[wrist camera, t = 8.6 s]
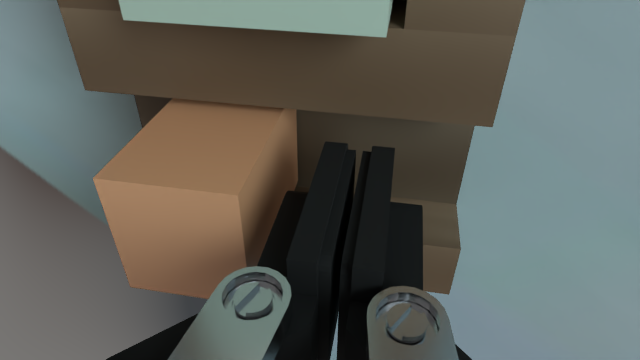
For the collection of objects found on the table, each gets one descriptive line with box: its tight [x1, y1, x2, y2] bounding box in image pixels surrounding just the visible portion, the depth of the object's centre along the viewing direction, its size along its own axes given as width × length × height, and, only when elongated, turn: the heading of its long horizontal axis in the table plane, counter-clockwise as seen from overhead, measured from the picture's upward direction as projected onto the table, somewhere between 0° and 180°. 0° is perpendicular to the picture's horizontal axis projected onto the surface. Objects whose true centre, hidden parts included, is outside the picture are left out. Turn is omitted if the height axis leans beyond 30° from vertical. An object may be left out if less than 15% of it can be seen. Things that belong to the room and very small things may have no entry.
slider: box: [93, 98, 298, 299], centre depth 12 cm, size 3×3×5 cm
